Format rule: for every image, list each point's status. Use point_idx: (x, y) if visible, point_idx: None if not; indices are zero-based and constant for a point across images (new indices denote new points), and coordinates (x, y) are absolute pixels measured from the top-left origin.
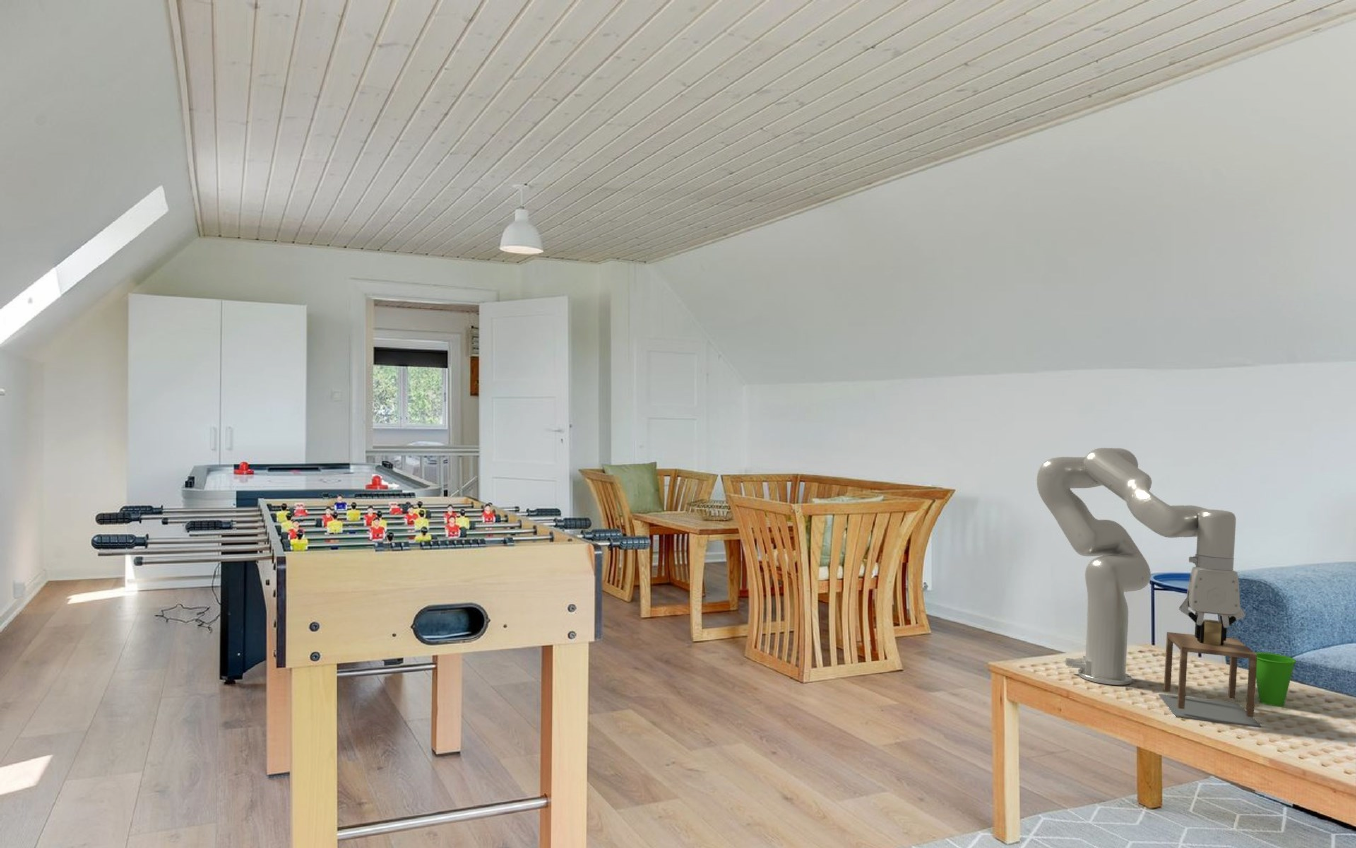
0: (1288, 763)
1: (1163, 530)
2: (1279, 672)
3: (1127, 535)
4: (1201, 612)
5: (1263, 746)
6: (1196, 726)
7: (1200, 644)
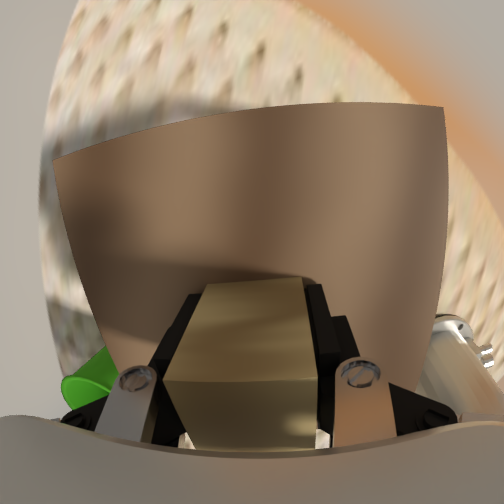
0: None
1: None
2: (91, 365)
3: None
4: (400, 438)
5: (182, 3)
6: (309, 62)
7: (327, 242)
